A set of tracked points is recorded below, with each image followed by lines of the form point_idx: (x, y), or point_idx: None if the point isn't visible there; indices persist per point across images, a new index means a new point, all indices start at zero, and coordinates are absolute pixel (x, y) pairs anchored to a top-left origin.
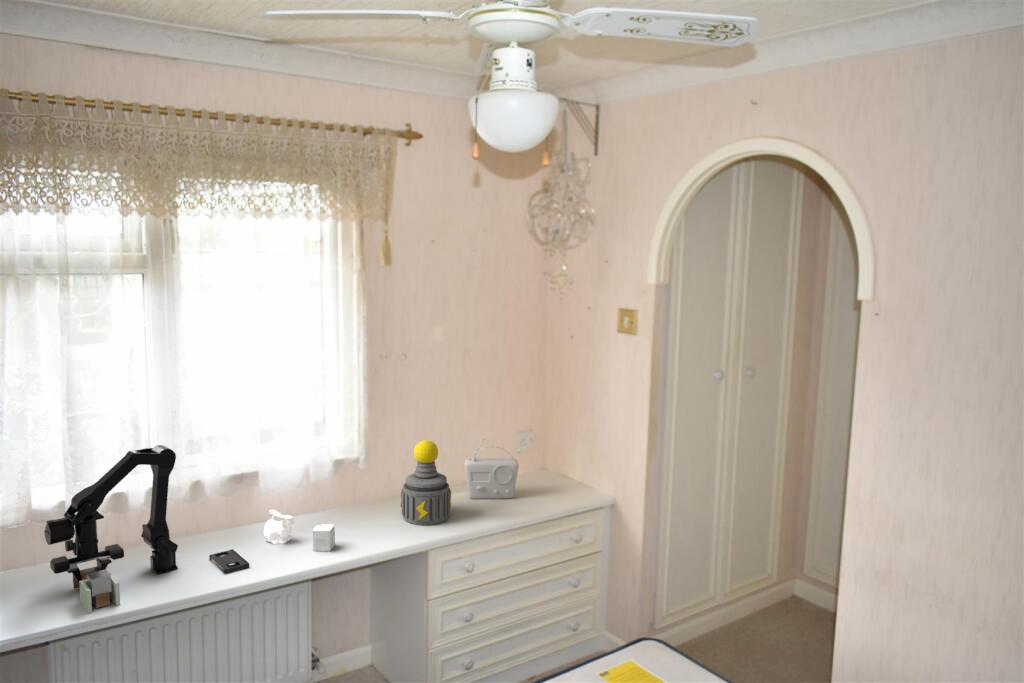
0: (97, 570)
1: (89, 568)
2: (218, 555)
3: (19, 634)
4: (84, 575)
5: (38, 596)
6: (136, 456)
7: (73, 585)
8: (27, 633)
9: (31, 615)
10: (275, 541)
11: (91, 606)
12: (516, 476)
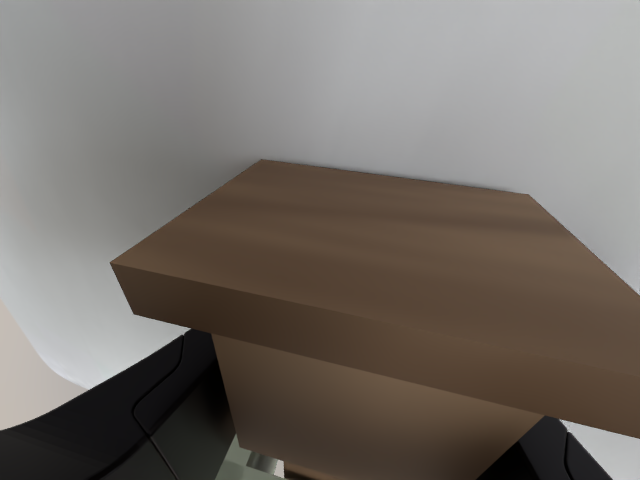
0: (496, 473)
1: (457, 360)
2: None
3: (75, 379)
4: (272, 452)
5: (3, 74)
6: None
7: (248, 171)
8: None
9: (67, 306)
10: None
11: (273, 470)
12: None
